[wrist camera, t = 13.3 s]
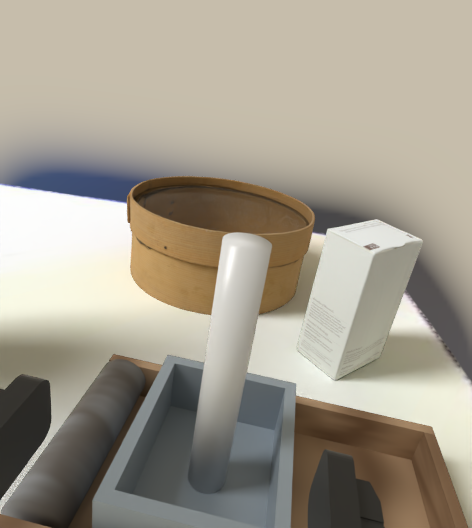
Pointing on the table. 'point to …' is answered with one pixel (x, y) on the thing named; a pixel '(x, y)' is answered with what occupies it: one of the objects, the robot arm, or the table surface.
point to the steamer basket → (211, 237)
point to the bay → (304, 457)
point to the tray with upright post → (210, 424)
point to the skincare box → (356, 295)
